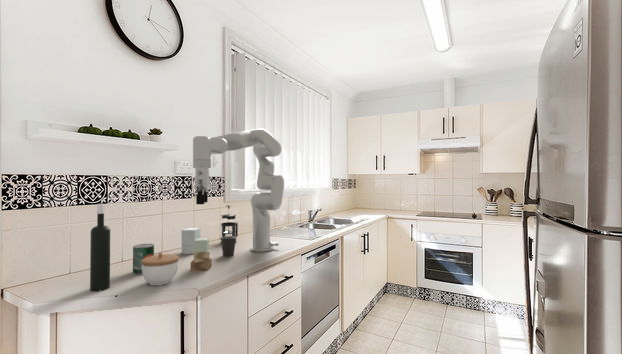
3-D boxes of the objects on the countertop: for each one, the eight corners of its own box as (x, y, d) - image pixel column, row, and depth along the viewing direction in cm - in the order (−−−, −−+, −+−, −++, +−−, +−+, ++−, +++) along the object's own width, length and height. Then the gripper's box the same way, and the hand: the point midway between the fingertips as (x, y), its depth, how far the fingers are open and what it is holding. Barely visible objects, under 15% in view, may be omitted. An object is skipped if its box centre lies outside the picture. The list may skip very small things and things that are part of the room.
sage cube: (208, 249, 135) (208, 238, 135) (206, 251, 130) (206, 240, 130) (196, 249, 134) (196, 238, 134) (194, 252, 129) (194, 240, 129)
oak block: (208, 257, 136) (208, 248, 136) (209, 261, 131) (209, 251, 131) (193, 259, 134) (193, 250, 134) (194, 262, 128) (194, 253, 128)
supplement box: (201, 251, 165) (201, 227, 165) (194, 254, 158) (194, 230, 158) (188, 250, 166) (188, 227, 166) (180, 254, 158) (181, 229, 158)
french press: (226, 245, 180) (226, 206, 180) (216, 243, 186) (216, 205, 186) (241, 241, 190) (241, 205, 190) (231, 240, 195) (232, 204, 195)
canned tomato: (134, 270, 130) (134, 244, 130) (154, 268, 133) (154, 242, 133) (131, 275, 123) (131, 248, 123) (153, 273, 126) (153, 246, 126)
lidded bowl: (176, 286, 110) (176, 255, 110) (137, 290, 106) (137, 258, 106) (180, 275, 122) (180, 248, 122) (145, 278, 118) (145, 250, 119)
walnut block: (211, 266, 136) (211, 257, 136) (207, 271, 129) (207, 262, 129) (195, 267, 135) (195, 258, 135) (190, 271, 128) (190, 262, 128)
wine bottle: (87, 289, 107) (87, 204, 107) (105, 284, 112) (105, 203, 112) (94, 292, 104) (95, 204, 104) (113, 287, 109) (113, 203, 109)
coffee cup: (216, 255, 154) (217, 236, 155) (230, 253, 160) (230, 234, 160) (225, 258, 149) (225, 238, 149) (239, 255, 155) (239, 236, 155)
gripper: (208, 163, 126) (208, 204, 126) (213, 165, 143) (213, 201, 143) (189, 163, 125) (189, 205, 124) (196, 165, 141) (196, 202, 141)
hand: (202, 203), depth 134 cm, fingers open, 9 cm apart
